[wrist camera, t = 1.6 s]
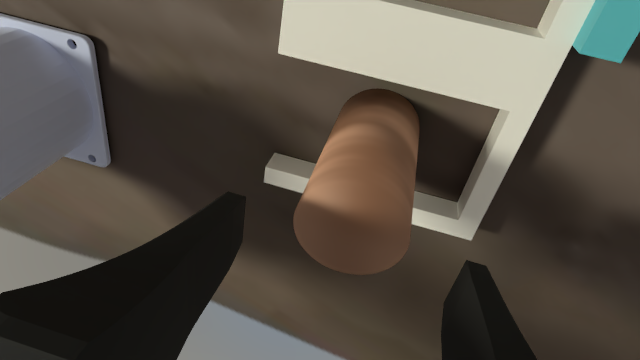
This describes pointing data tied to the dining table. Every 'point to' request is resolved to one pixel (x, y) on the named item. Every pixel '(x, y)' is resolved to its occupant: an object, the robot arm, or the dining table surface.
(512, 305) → the dining table surface
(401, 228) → the peg
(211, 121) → the dining table surface
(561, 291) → the dining table surface
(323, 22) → the slot rack
